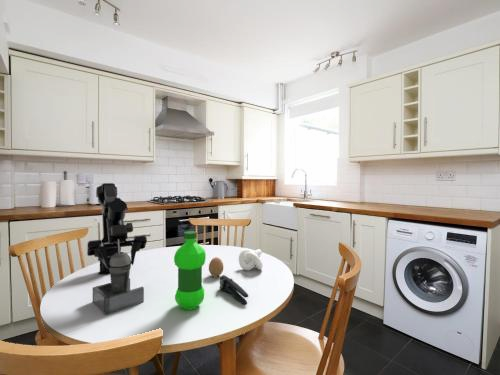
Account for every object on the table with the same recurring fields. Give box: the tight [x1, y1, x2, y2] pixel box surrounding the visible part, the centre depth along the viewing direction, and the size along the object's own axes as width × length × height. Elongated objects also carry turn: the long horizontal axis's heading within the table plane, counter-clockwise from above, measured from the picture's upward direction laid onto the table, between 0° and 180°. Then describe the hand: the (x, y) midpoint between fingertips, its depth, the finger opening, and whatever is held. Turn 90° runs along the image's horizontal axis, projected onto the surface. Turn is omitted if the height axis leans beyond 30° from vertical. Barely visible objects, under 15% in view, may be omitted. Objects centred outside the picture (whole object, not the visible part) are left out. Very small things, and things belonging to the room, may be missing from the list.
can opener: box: [218, 274, 249, 305], centre depth 96 cm, size 18×7×6 cm, turn 32°
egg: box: [208, 257, 224, 277], centre depth 115 cm, size 6×6×8 cm
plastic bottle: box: [173, 230, 207, 311], centre depth 87 cm, size 10×10×25 cm
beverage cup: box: [109, 239, 132, 295], centre depth 90 cm, size 7×7×20 cm
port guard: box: [92, 277, 145, 316], centre depth 90 cm, size 12×12×5 cm
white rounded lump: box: [238, 248, 264, 271], centre depth 126 cm, size 11×12×9 cm
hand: (120, 266), depth 89 cm, fingers closed on beverage cup, 7 cm apart
